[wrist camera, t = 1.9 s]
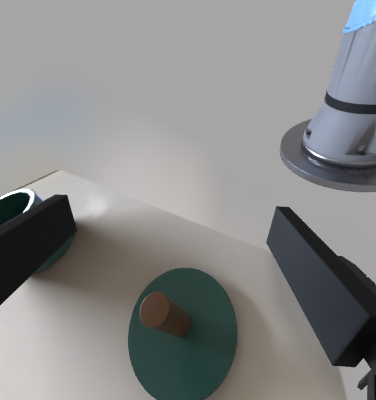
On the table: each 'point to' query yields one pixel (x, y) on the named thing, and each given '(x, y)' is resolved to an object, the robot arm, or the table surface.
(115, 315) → the table surface
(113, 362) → the table surface
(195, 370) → the lid
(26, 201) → the canister
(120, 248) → the table surface
